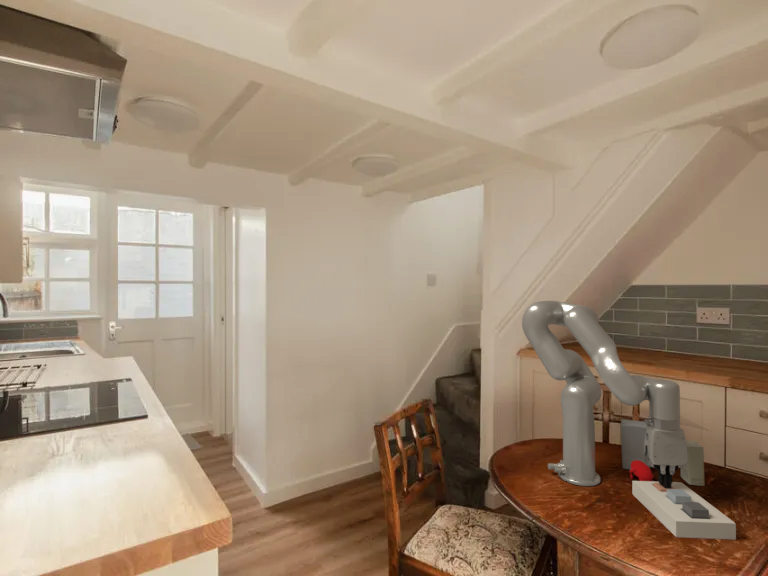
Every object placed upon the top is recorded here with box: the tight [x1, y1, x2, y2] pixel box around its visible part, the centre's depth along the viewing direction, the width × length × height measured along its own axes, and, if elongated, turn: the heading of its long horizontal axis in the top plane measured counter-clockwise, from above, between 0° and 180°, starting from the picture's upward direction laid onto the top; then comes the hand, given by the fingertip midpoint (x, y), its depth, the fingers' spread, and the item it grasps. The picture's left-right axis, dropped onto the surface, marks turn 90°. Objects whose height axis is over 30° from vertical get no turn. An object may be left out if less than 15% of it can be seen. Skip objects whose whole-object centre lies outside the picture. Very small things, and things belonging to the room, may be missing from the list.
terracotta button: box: [653, 483, 674, 492], centre depth 123 cm, size 4×4×3 cm
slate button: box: [667, 489, 691, 504], centre depth 116 cm, size 4×4×3 cm
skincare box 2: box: [680, 440, 705, 487], centre depth 136 cm, size 6×4×12 cm
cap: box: [628, 460, 655, 481], centre depth 136 cm, size 8×6×6 cm
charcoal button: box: [682, 502, 709, 519], centre depth 109 cm, size 4×4×3 cm
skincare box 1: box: [620, 418, 651, 471], centre depth 146 cm, size 8×7×16 cm
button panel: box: [631, 480, 737, 541], centre depth 116 cm, size 14×22×4 cm, turn 175°
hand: (665, 486), depth 123 cm, fingers closed
